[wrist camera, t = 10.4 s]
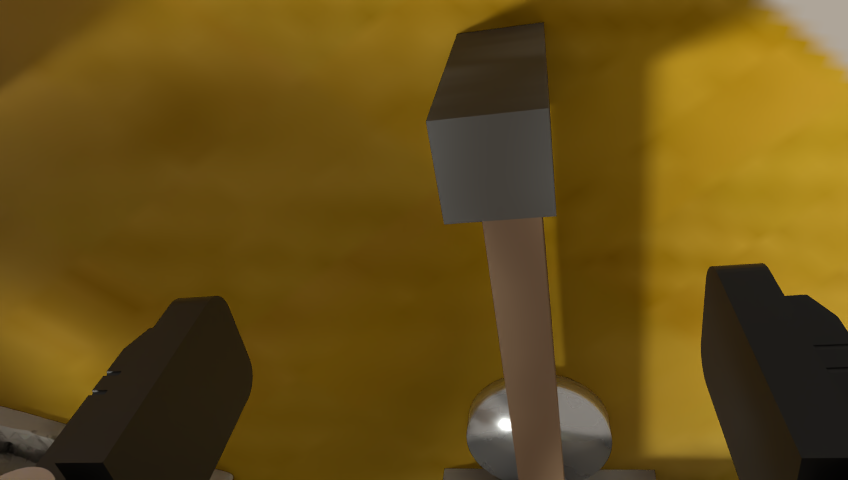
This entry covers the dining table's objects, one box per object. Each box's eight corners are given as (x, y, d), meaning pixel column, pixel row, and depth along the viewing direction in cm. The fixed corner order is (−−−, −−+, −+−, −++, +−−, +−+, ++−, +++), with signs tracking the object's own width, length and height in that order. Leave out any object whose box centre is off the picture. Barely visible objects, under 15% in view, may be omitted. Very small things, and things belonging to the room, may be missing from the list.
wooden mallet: (448, 484, 36) (430, 633, 30) (348, 48, 23) (276, 137, 17) (653, 487, 34) (683, 649, 27) (666, 5, 21) (728, 88, 14)
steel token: (480, 465, 35) (478, 489, 34) (458, 371, 32) (455, 393, 30) (612, 463, 34) (615, 488, 32) (605, 364, 30) (608, 387, 29)
